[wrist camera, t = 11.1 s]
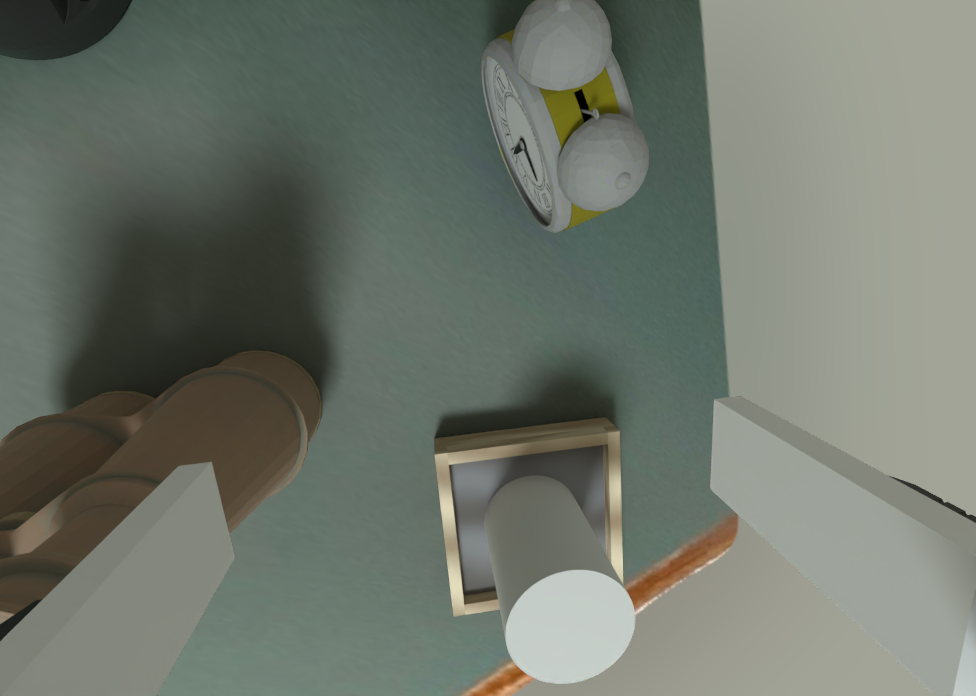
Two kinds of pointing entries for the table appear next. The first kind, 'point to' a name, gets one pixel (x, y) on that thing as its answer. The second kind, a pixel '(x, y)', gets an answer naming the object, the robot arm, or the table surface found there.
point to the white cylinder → (554, 583)
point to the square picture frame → (511, 455)
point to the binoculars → (145, 461)
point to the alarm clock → (563, 113)
